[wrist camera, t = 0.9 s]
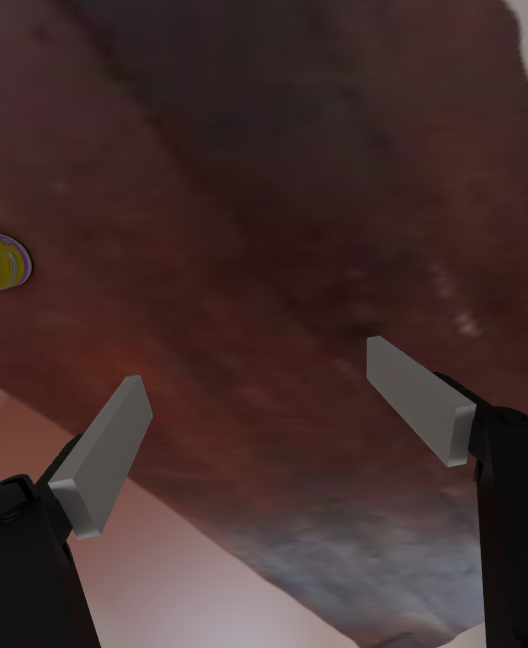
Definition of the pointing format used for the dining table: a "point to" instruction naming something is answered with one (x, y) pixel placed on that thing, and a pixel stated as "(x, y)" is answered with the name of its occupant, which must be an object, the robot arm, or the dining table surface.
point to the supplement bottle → (13, 263)
